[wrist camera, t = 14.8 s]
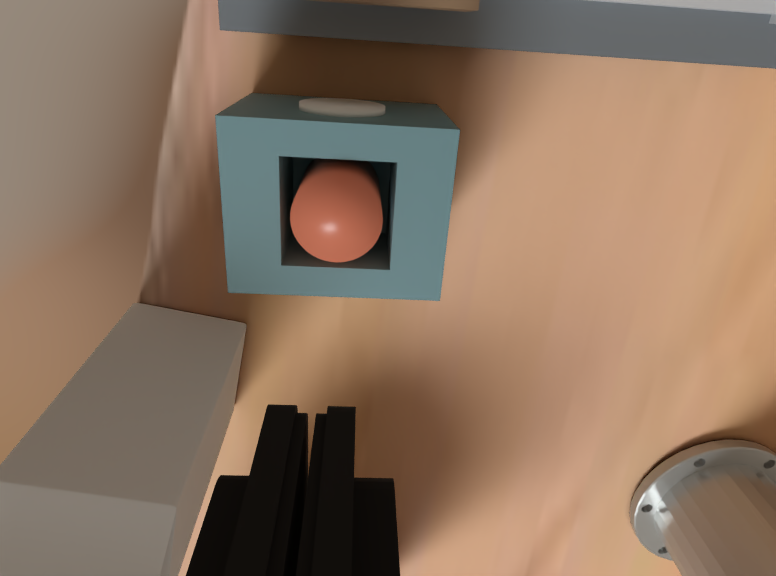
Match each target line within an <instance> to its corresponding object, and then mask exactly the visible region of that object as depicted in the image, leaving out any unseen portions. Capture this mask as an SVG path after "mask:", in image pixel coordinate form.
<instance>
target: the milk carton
mask: <svg viewBox="0 0 776 576" xmlns="http://www.w3.org/2000/svg"><path fill="white" fill-rule="evenodd" d="M246 327H247V325H246V324H245V323H242V322H237V321H232V320H227V319H221V318H216V317H211V316H205V315H200V314H195V313H189V312H184V311H179V310H173V309H168V308H163V307H158V306H152V305H147V304H141V303H134V304H133V305H132V306H131V307H130V308H129V309H128V311H127V312H126V313H125V314H124V315H123V317H122V318H121V319H120V320H119V322H118V323H117V324H116V325H115V326H114V328H113V329H112V330H111V331H110V333H109V334H108V335H107V336H106V337H105V339H104V340H103V341H102V342H101V343H100V345H99V346H98V347H97V348H96V349H95V351H94V352H93V353H92V354H91V356H90V357H89V358H88V359H87V361H86V362H85V363H84V364H83V366H82V367H81V368H80V369H79V370H78V371H77V373H76V374H75V375H74V376H73V377H72V379H71V380H70V381H69V382H68V383H67V385H66V386H65V387H64V388H63V390H62V391H61V392H60V393H59V395H58V396H57V397H56V398H55V400H54V401H53V402H52V403H51V404H50V405H49V407H48V408H47V409H46V410H45V411H44V413H43V414H42V415H41V416H40V418H39V419H38V420H37V421H36V423H35V424H34V425H33V426H32V427H31V429H30V430H29V431H28V432H27V433H26V435H25V436H24V437H23V438H22V439H21V441H20V442H19V443H18V444H17V445H16V447H15V448H14V449H13V450H12V452H11V453H10V454H9V455H8V456H7V458H6V459H5V460H4V461H3V462H2V464H1V465H0V576H178V574H179V571H180V568H181V565H182V562H183V559H184V556H185V553H186V550H187V547H188V544H189V541H190V538H191V535H192V532H193V529H194V526H195V523H196V520H197V517H198V514H199V512H200V509H201V506H202V503H203V500H204V497H205V494H206V491H207V488H208V485H209V482H210V479H211V476H212V473H213V470H214V467H215V464H216V461H217V458H218V455H219V452H220V449H221V446H222V443H223V440H224V437H225V434H226V431H227V428H228V425H229V422H230V419H231V416H232V413H233V410H234V404H235V397H236V391H237V385H238V378H239V372H240V365H241V359H242V353H243V346H244V340H245V333H246Z"/></svg>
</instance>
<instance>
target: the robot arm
mask: <svg viewBox="0 0 776 576" xmlns="http://www.w3.org/2000/svg"><path fill="white" fill-rule="evenodd" d="M355 411H356V407H339V406H328V408H327V414H316V419H315V427H314V435H313V442H312V450H311V458H310V466H309V474H308V414H307V413H298V409H297V405H268V406H267V409H266V413H265V417H264V421H263V424H262V428H261V432H260V436H259V440H258V444H257V448H256V452H255V456H254V459H253V463H252V467H251V471H250V475H249V476H231V475H221V476H220V477H219V478H218V480H217V482H216V485H215V488H214V491H213V494H212V497H211V500H210V503H209V506H208V509H207V512H206V515H205V518H204V521H203V524H202V528H201V531H200V534H199V537H198V540H197V543H196V546H195V549H194V552H193V555H192V558H191V561H190V564H189V567H188V570H187V574H186V576H400V567H399V552H398V536H397V520H396V505H395V489H394V481H393V479H392V478H354V453H355ZM629 514H630V523H631V525H632V528H633V530H634V532H635V534H636V536H637V537H638V539H639V541H640V542H641V544H642V545H643V546H644V547H645V548H646V549H647V550H648V551H650V552H651V553H653V554H655V555H657V556H659V557H662V558H665V559H668V560H672V561H674V563H675V565H676V566H677V568H678V570H679V572H680V573H681V575H682V576H776V453H774V452H773V451H772V450H770V449H769V448H767V447H765V446H763V445H760V444H758V443H755V442H750V441H745V440H719V441H712V442H707V443H703V444H699V445H696V446H693V447H690V448H688V449H685V450H683V451H681V452H678V453H677V454H675V455H673V456H671V457H670V458H668V459H666V460H665V461H663V462H662V463H661V464H660V465H658V466H657V467H656V468H654V469H653V470H652V471H651V472H650V473H649V474H648V475H647V476H646V477H645V478H644V480H643V481H642V482H641V484H640V485H639V487H638V488H637V490H636V491H635V494H634V496H633V499H632V501H631V506H630V512H629Z"/></svg>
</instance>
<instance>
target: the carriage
mask: <svg viewBox="0 0 776 576" xmlns="http://www.w3.org/2000/svg"><path fill="white" fill-rule="evenodd" d="M309 1H323V2H337V3H350V4H364V5H378V6H391V7H405V8H418V9H432V10H446V11H459V12H470V11H478V10H479V1H480V0H309Z"/></svg>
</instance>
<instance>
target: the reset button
mask: <svg viewBox="0 0 776 576" xmlns="http://www.w3.org/2000/svg"><path fill="white" fill-rule="evenodd" d="M290 223H291V228H292V231H293V234H294V236H295V238H296V240H297V241H298V242H299V244H300V245H301V246H302V247H303V248H304V249H305V250H306V251H307V252H308V253H310V254H311V255H313V256H315V257H317V258H319V259H321V260H324V261H329V262H347V261H351V260H354V259H357V258H359V257H361V256H362V255H364V254H365V253H367V252H368V251H369V250H370V249H371V248H372V247H373V246H374V244H375V243H376V241H377V240H378V238H379V236H380V233H381V230H382V224H383V214H382V204H381V195H380V185H379V179H378V176H377V174H376V171H375V170H374V168H373V166H372V165H371V164H370V163H369V162H368V161H360V160H342V159H323V158H315V159H313V161H312V162H311V163H310V164H309V165H308V167H307V169H306V170H305V173H304V175H303V178H302V180H301V183H300V185H299V188H298V190H297V193H296V195H295V198H294V201H293V203H292V206H291V211H290Z"/></svg>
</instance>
